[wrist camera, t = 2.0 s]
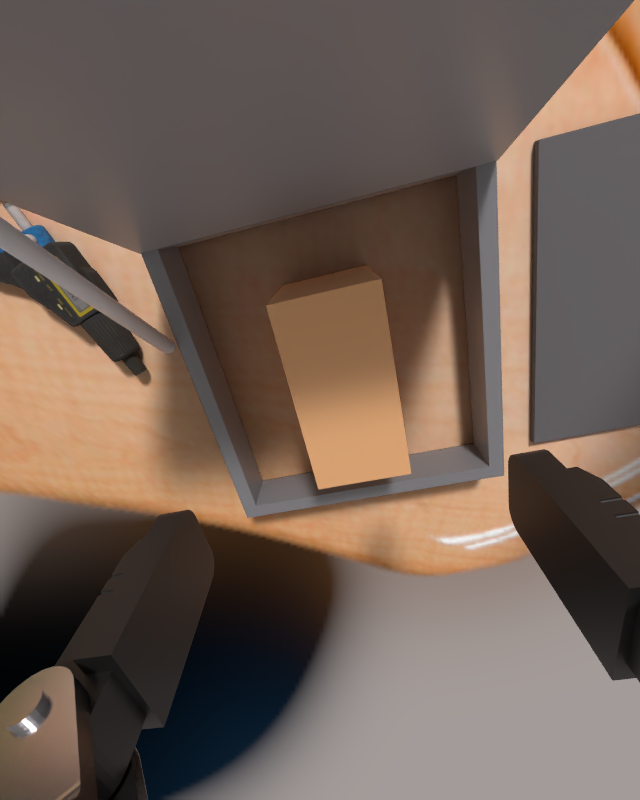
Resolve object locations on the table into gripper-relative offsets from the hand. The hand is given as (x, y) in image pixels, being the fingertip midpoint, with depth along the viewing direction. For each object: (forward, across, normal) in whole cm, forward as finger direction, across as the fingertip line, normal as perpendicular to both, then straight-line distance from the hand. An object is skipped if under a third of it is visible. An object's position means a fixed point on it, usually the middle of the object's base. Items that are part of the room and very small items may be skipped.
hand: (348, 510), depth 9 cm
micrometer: (+14, +14, -7) cm, 21 cm away
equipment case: (+13, 0, -2) cm, 13 cm away
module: (+13, 0, 0) cm, 13 cm away
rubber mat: (+13, -15, 0) cm, 20 cm away
